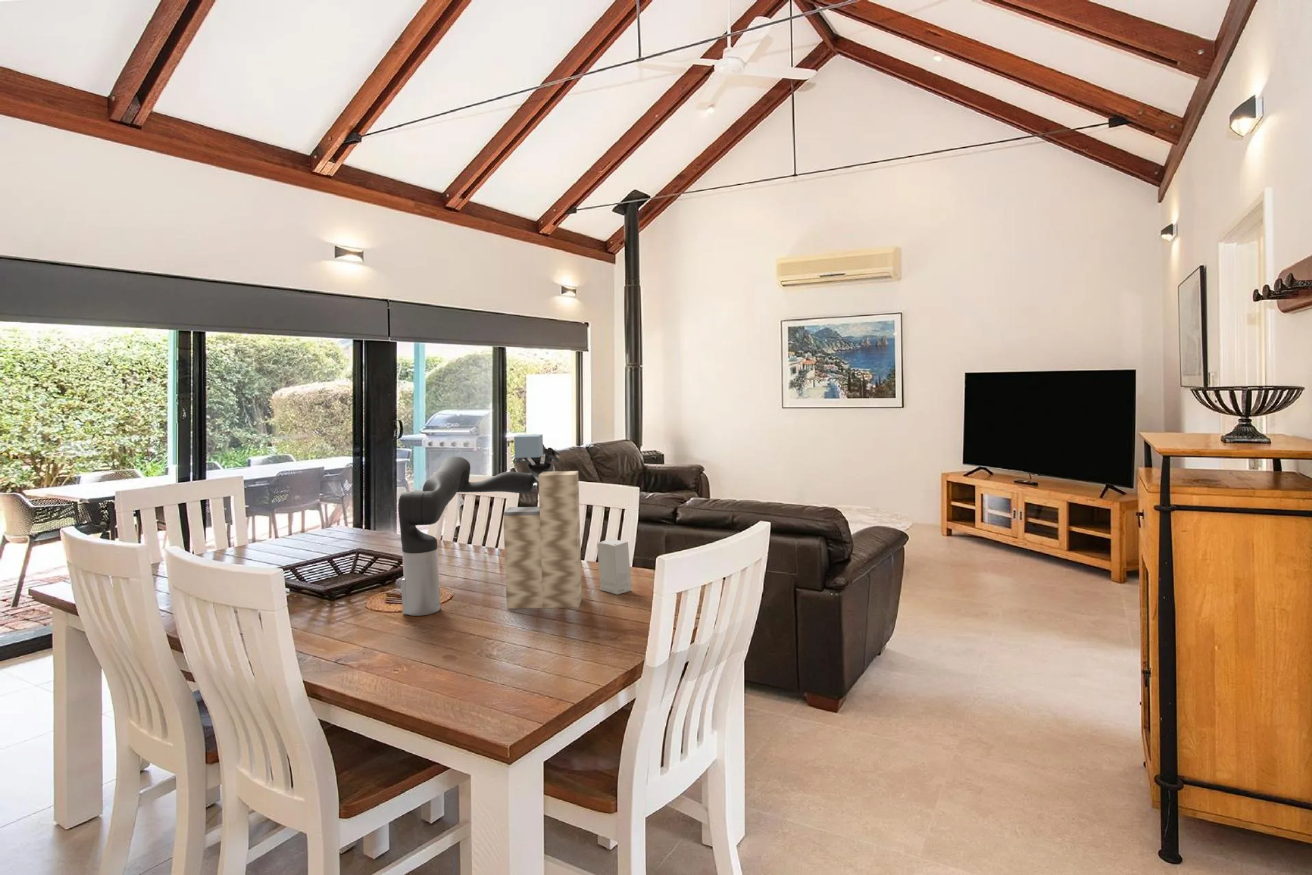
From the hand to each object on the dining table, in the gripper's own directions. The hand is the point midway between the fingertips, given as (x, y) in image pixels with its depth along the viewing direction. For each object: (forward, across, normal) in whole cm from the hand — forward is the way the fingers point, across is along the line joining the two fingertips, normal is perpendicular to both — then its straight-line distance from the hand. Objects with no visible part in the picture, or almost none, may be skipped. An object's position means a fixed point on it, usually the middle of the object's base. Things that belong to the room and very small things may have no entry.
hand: (532, 445), depth 218 cm
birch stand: (-7, +5, +46) cm, 47 cm away
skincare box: (-17, +24, +40) cm, 50 cm away
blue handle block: (0, 0, +3) cm, 3 cm away
